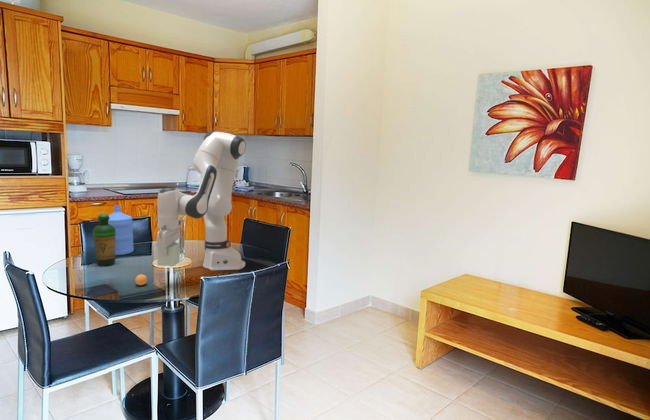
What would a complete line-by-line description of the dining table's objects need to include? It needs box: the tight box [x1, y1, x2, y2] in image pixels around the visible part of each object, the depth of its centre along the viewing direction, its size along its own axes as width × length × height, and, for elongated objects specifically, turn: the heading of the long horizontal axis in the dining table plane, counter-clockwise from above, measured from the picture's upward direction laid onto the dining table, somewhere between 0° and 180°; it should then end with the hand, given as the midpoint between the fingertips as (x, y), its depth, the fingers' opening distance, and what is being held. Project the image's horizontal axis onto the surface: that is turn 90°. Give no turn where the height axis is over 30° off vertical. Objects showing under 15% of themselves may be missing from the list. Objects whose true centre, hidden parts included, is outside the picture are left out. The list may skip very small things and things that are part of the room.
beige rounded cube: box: [156, 242, 180, 267], centre depth 188 cm, size 7×7×9 cm
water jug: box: [108, 204, 135, 256], centre depth 241 cm, size 16×16×28 cm
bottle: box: [92, 211, 116, 267], centre depth 217 cm, size 11×11×28 cm
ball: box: [134, 273, 148, 286], centre depth 190 cm, size 5×5×5 cm
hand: (168, 253), depth 188 cm, fingers closed on beige rounded cube, 7 cm apart
